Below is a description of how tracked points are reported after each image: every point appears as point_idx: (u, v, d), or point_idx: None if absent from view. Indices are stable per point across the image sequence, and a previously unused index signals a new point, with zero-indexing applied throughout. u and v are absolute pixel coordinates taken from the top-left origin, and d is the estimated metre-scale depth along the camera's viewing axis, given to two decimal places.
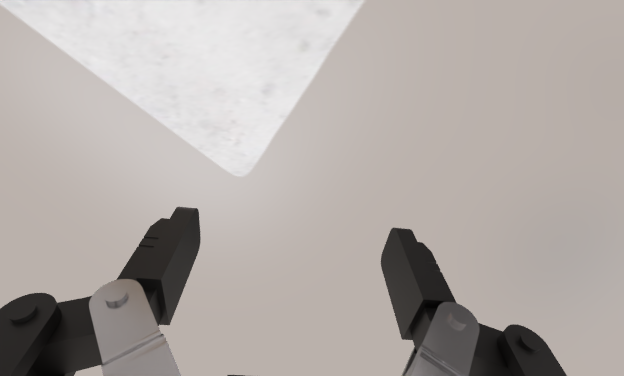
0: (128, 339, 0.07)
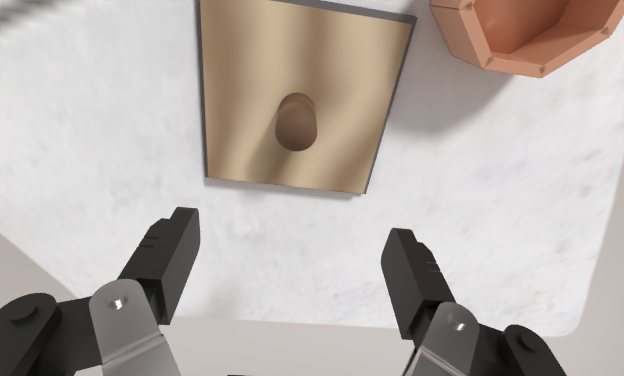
0: (128, 339, 0.07)
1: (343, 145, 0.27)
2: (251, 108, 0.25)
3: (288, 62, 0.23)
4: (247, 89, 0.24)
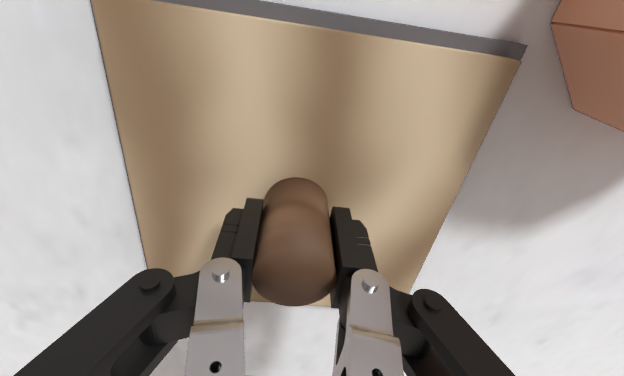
0: (217, 312, 0.08)
1: (374, 251, 0.16)
2: (216, 201, 0.14)
3: (279, 129, 0.12)
4: (206, 172, 0.13)
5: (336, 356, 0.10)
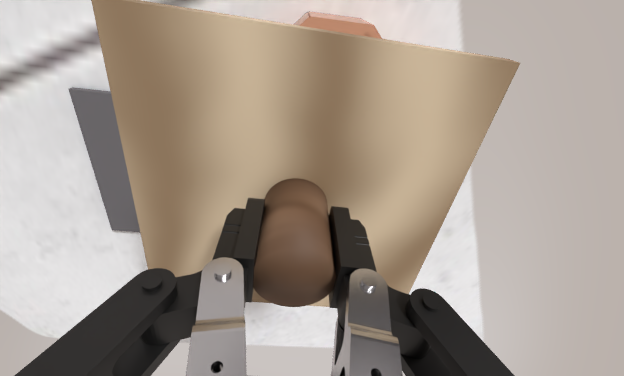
0: (219, 312, 0.08)
1: (373, 252, 0.16)
2: (216, 202, 0.14)
3: (279, 130, 0.13)
4: (206, 174, 0.14)
5: (335, 356, 0.10)
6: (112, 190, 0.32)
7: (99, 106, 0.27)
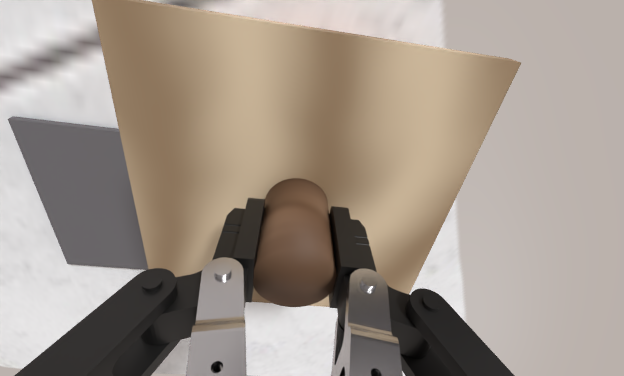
0: (219, 312, 0.08)
1: (374, 252, 0.16)
2: (216, 202, 0.14)
3: (280, 130, 0.12)
4: (207, 173, 0.14)
5: (335, 356, 0.10)
6: (65, 224, 0.29)
7: (44, 137, 0.24)
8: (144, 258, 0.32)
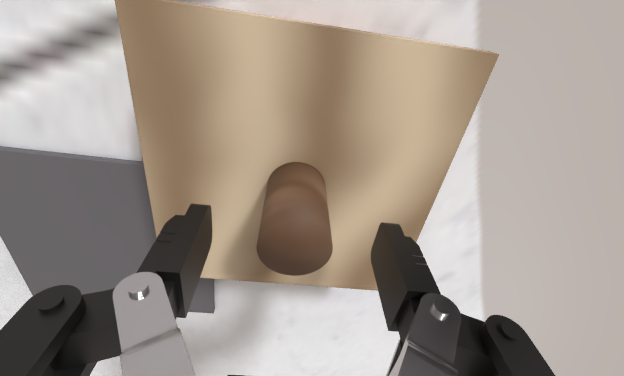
0: (146, 331, 0.07)
1: (368, 233, 0.18)
2: (222, 184, 0.16)
3: (281, 116, 0.14)
4: (214, 157, 0.15)
5: (389, 371, 0.09)
6: (30, 260, 0.25)
7: None
8: None
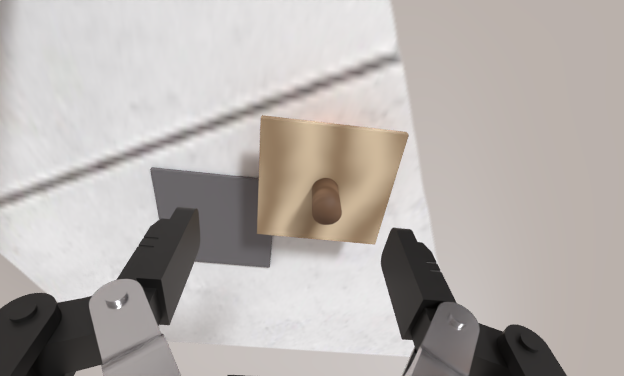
0: (128, 339, 0.07)
1: (359, 211, 0.36)
2: (292, 188, 0.34)
3: (320, 159, 0.33)
4: (289, 176, 0.34)
5: None
6: None
7: (169, 179, 0.40)
8: (218, 255, 0.47)
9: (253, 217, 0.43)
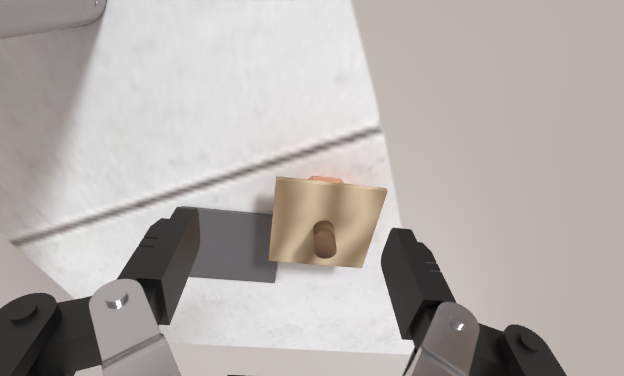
0: (128, 339, 0.07)
1: (350, 244, 0.46)
2: (297, 227, 0.44)
3: (320, 207, 0.42)
4: (296, 219, 0.43)
5: None
6: None
7: None
8: (232, 273, 0.57)
9: (263, 244, 0.53)
